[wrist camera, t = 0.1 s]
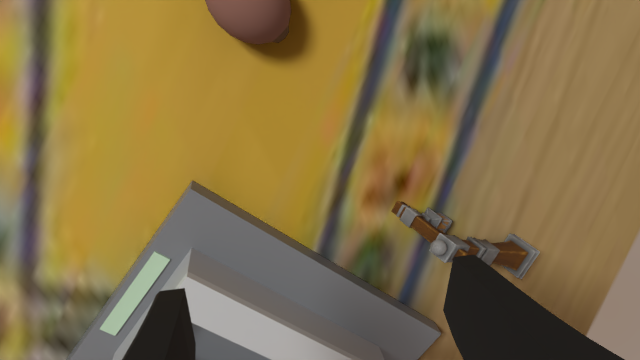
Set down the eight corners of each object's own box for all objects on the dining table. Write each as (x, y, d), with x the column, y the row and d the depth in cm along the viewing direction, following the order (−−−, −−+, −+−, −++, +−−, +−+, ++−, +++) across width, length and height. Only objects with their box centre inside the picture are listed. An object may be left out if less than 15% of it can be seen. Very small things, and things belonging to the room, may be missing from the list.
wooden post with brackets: (391, 187, 23) (458, 241, 20) (478, 208, 28) (543, 254, 25) (373, 218, 23) (436, 276, 20) (462, 234, 28) (524, 281, 25)
